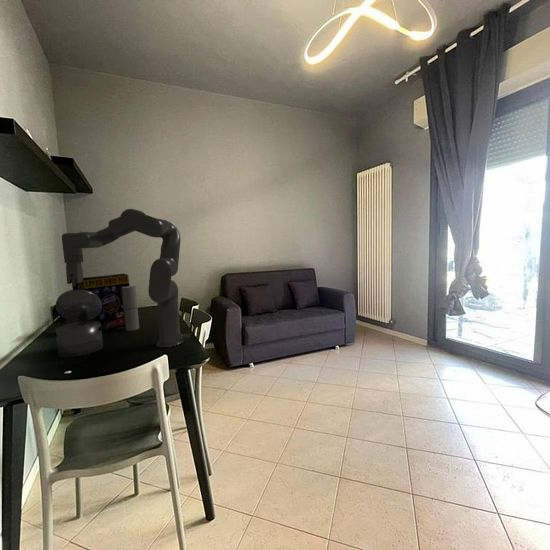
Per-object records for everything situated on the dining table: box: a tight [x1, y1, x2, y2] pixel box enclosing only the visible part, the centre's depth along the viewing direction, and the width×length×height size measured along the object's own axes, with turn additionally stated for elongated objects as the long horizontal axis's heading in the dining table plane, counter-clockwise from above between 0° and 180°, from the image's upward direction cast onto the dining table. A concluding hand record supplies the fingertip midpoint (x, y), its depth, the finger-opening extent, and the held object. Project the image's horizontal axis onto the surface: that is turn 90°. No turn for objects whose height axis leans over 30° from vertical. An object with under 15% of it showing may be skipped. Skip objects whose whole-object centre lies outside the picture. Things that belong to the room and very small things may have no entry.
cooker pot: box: [46, 321, 109, 359], centre depth 146 cm, size 24×20×12 cm
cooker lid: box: [55, 289, 102, 323], centre depth 150 cm, size 19×19×3 cm
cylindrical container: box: [122, 285, 140, 332], centre depth 180 cm, size 7×7×25 cm
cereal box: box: [81, 273, 131, 332], centre depth 186 cm, size 27×11×32 cm, turn 142°
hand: (78, 297), depth 148 cm, fingers closed
